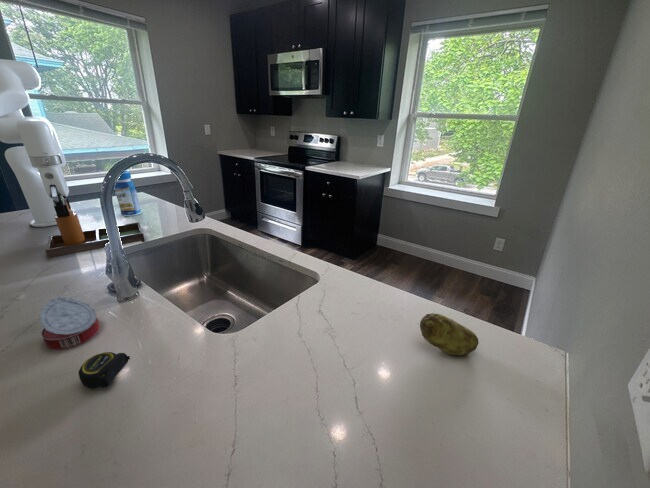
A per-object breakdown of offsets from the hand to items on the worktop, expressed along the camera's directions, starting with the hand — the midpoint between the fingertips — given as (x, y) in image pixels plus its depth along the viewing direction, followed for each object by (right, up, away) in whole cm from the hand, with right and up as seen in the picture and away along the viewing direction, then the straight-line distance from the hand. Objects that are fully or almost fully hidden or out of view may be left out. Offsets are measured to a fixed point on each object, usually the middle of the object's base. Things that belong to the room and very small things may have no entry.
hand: (64, 212), depth 103 cm
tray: (+5, -11, +9) cm, 15 cm away
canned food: (+32, -32, -34) cm, 57 cm away
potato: (+119, -35, -34) cm, 128 cm away
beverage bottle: (-2, +3, +39) cm, 39 cm away
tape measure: (+47, -37, -44) cm, 75 cm away
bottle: (0, -12, +5) cm, 13 cm away
